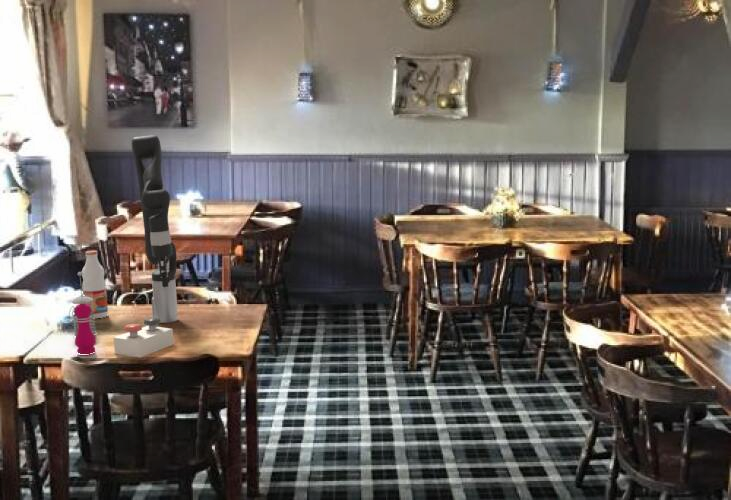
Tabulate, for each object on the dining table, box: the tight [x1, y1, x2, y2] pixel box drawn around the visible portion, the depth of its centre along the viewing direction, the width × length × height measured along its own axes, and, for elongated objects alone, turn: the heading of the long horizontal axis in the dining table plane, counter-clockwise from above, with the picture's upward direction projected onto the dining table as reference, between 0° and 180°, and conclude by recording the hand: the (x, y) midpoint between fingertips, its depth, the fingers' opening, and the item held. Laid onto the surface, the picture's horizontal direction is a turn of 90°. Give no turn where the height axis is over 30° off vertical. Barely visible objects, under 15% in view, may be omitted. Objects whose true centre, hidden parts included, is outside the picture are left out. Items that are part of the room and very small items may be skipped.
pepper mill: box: [73, 300, 97, 354], centre depth 340 cm, size 7×7×20 cm
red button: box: [124, 323, 143, 338], centre depth 340 cm, size 6×6×5 cm
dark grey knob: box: [143, 317, 162, 332], centre depth 348 cm, size 6×6×5 cm
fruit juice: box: [81, 250, 109, 319], centre depth 393 cm, size 9×9×28 cm
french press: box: [68, 271, 98, 336], centre depth 365 cm, size 10×12×25 cm
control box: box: [113, 325, 174, 358], centre depth 345 cm, size 12×18×6 cm, turn 151°
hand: (166, 284), depth 360 cm, fingers open, 8 cm apart
